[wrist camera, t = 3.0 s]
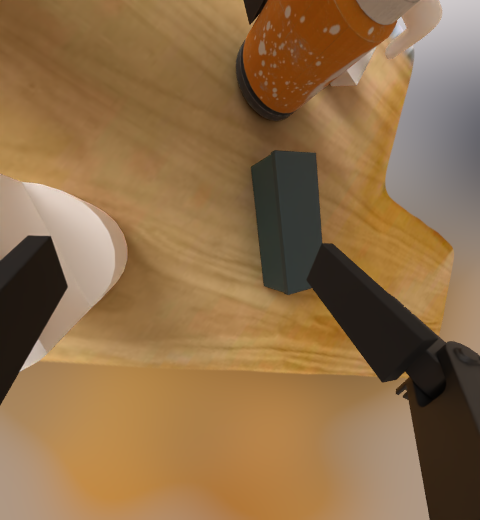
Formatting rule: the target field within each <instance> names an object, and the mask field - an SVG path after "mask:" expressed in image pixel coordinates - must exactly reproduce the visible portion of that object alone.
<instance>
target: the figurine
mask: <svg viewBox="0 0 480 520" xmlns="http://www.w3.org/2000/svg"><path fill="white" fill-rule="evenodd" d="M441 17H442V8H441V5H440V2H439V0H420V1H419V2H418V3H416V4H415V5H414V6H413V7H412V8H410V9H409V10H408V11H407V12H406V13H405V14H403V15H402V18H403V21H404V23H405V25H406V27H407V29H406V30H405V31H403V32H402V33H401V34H400V35H399V36H397V37H396V38H395V39H394V40H392V41H391V42H390V43H389V44H388V46H387V48H386V52H385V55H386V58H387V59H393V58H395V57H396V56H398V55H399V54H401V53H402V52H403V51H405V50H406V49H408V48H409V47H411V46H412V45H413V44H415V43H416V42H418V41H419V40H421V39H422V38H423V37H424V36H426V35H427V34H428V33H429V32H431V31H432V30H433V29H434V28H435V27H436V25H437V24H438V23H439V21H440V20H441ZM375 49H376V47H375V48H374V49H372V50H371V51H370V52H369V53H367V54H366V55H365V56H364V57H362V58H361V59H360V60H359V61H357V62H356V63H355V64H354V65H352V66H351V67H350V68H349V69H347V70H346V71H345V72H344V73H342V74H341V75H340V76H339V77H337V78H336V79H335V80H334V81H332V82H331V83H330V84H331V86H357V84H358V82H359V80H360V78H361V76H362V74H363V72H364V70H365V68H366V66H367V64H368V63H369V61H370V59H371V57H372V55H373V53H374V51H375Z"/></svg>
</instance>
